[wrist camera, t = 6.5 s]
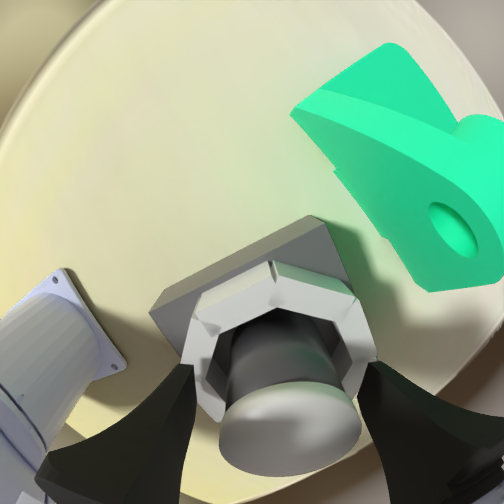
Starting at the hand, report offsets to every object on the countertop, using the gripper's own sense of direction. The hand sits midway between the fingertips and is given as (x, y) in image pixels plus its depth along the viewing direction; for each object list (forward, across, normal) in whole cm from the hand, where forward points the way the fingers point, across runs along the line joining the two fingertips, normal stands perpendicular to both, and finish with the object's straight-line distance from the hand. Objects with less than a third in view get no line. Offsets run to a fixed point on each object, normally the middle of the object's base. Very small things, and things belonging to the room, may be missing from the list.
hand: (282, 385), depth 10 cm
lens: (+3, 0, 0) cm, 3 cm away
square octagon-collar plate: (+6, 0, 0) cm, 6 cm away
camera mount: (+6, -7, -10) cm, 14 cm away
